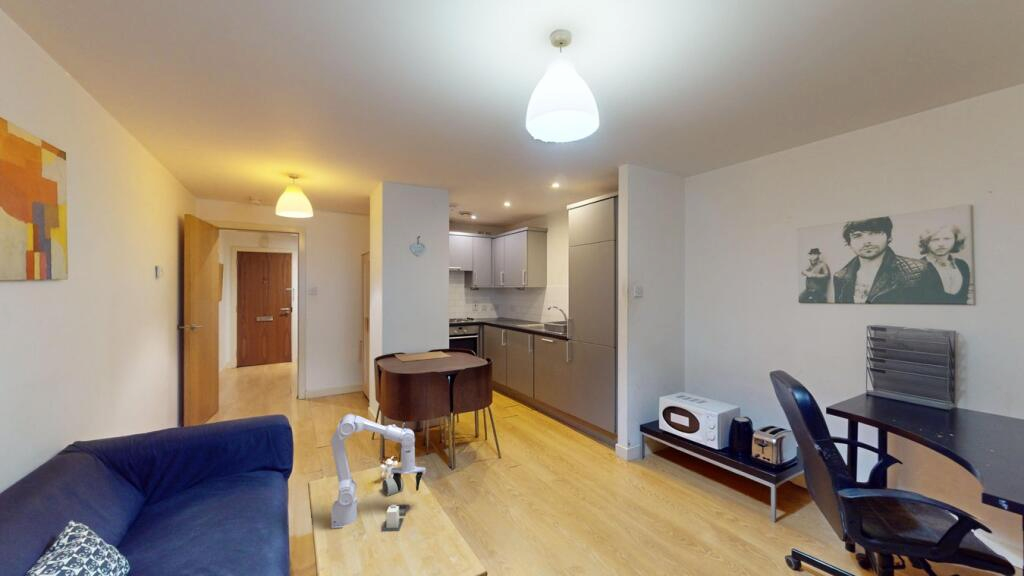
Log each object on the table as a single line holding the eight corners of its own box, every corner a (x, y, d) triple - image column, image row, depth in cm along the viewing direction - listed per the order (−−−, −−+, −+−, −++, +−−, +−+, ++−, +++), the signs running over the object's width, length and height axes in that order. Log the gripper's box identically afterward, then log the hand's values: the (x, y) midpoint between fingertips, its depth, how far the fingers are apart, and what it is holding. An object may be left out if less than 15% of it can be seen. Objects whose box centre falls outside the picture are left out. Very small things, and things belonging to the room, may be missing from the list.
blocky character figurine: (397, 477, 203) (396, 453, 202) (399, 480, 199) (399, 456, 199) (379, 482, 197) (378, 458, 197) (381, 485, 194) (381, 461, 194)
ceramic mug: (404, 493, 187) (404, 477, 187) (388, 499, 182) (387, 483, 182) (395, 485, 195) (395, 469, 195) (379, 490, 190) (379, 474, 190)
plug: (386, 528, 159) (386, 510, 159) (389, 522, 163) (389, 504, 163) (396, 528, 159) (396, 509, 159) (399, 521, 163) (398, 504, 163)
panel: (378, 535, 157) (378, 530, 157) (391, 508, 175) (391, 504, 174) (401, 534, 157) (401, 529, 157) (411, 508, 175) (411, 503, 175)
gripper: (388, 463, 167) (389, 495, 167) (423, 462, 167) (423, 494, 168) (393, 455, 174) (393, 486, 174) (426, 455, 174) (426, 485, 175)
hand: (408, 489), depth 172 cm, fingers open, 7 cm apart
